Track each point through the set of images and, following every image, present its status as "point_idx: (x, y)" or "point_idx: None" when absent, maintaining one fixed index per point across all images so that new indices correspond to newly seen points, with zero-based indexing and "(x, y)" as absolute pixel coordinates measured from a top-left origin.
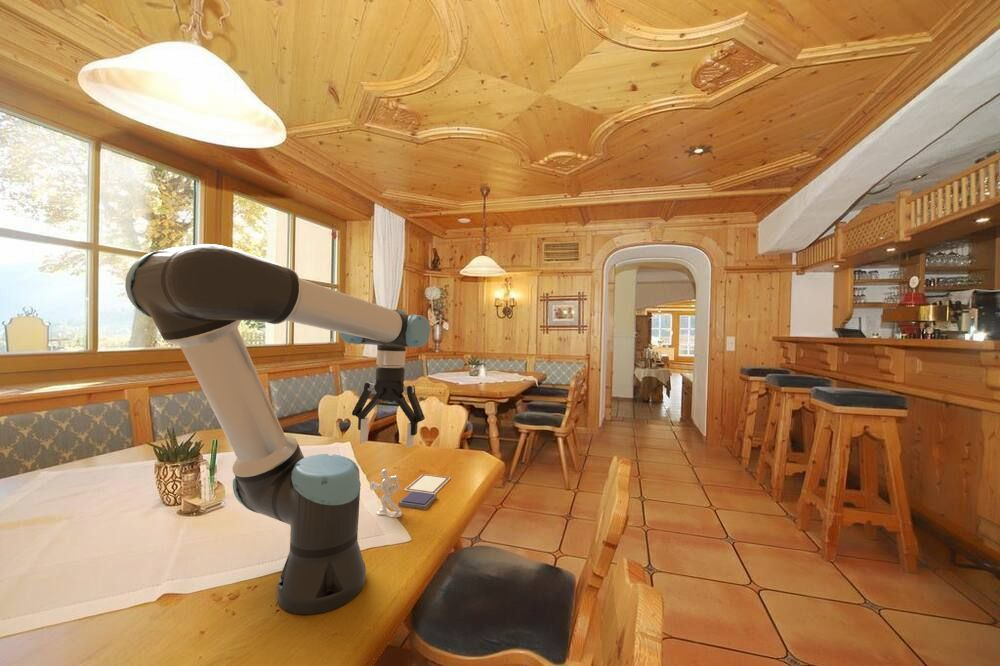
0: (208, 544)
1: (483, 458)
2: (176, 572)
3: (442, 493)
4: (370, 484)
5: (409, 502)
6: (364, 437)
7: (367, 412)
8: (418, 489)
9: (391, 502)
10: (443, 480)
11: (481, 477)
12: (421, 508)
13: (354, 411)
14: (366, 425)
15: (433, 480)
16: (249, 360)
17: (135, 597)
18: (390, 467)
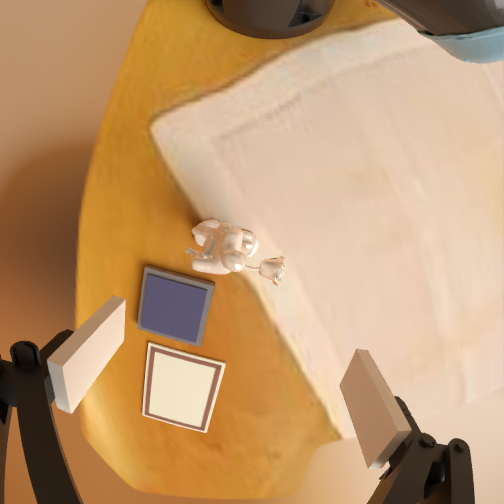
0: (489, 125)
1: (119, 475)
2: None
3: (135, 348)
4: (282, 260)
5: (186, 284)
6: (356, 377)
7: (387, 480)
8: (191, 364)
9: (213, 231)
10: (151, 404)
11: (90, 410)
12: (156, 268)
13: (462, 456)
14: (367, 426)
15: (172, 405)
16: None
17: None
18: (287, 455)
